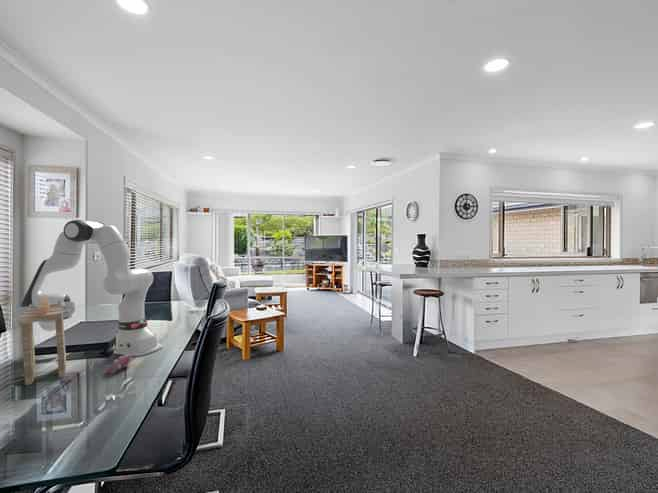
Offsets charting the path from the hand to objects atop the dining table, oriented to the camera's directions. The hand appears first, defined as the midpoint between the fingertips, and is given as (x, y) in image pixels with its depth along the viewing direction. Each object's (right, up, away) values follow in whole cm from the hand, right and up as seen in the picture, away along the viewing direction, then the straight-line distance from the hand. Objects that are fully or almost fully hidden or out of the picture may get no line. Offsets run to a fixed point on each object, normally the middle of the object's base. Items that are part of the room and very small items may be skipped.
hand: (45, 304), depth 146 cm
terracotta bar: (+5, -1, -7) cm, 9 cm away
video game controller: (+37, -27, -6) cm, 46 cm away
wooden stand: (+9, -27, -10) cm, 31 cm away
